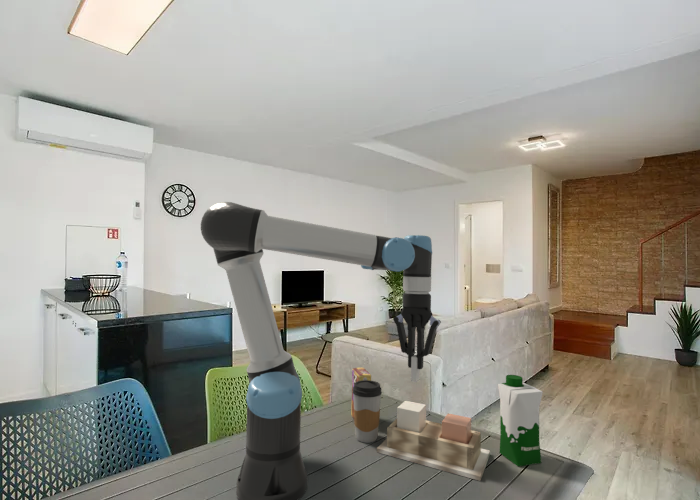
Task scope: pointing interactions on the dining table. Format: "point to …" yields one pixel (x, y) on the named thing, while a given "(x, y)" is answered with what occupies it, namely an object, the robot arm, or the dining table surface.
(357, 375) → the candy box
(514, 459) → the milk carton
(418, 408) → the white block
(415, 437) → the housing
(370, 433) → the coffee cup
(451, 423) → the salmon pink block
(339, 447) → the dining table surface
